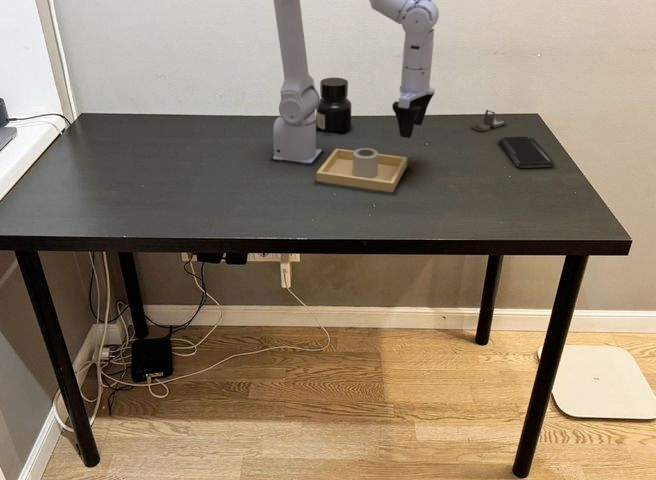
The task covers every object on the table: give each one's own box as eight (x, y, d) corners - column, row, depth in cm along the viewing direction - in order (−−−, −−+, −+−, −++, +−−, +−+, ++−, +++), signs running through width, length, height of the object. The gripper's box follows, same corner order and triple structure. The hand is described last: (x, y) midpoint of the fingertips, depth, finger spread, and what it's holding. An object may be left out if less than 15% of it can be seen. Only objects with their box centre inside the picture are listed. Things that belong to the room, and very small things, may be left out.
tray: (316, 183, 139) (316, 172, 138) (335, 158, 150) (335, 148, 148) (392, 194, 134) (393, 183, 133) (406, 168, 145) (407, 157, 143)
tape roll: (349, 176, 140) (350, 155, 137) (356, 166, 144) (357, 146, 142) (373, 180, 138) (374, 159, 136) (379, 170, 143) (381, 149, 140)
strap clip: (495, 121, 167) (498, 105, 165) (504, 125, 165) (507, 108, 163) (471, 128, 163) (473, 112, 161) (480, 132, 161) (482, 115, 159)
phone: (531, 136, 155) (554, 162, 143) (530, 141, 156) (553, 167, 143) (498, 137, 155) (518, 163, 143) (498, 142, 156) (518, 168, 143)
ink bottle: (319, 120, 170) (319, 75, 163) (353, 122, 168) (354, 76, 162) (313, 134, 162) (312, 87, 155) (348, 136, 160) (349, 88, 154)
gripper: (425, 78, 123) (419, 145, 130) (446, 58, 133) (439, 121, 141) (390, 74, 125) (386, 140, 133) (413, 54, 136) (407, 117, 144)
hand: (411, 130), depth 137 cm, fingers open, 7 cm apart
